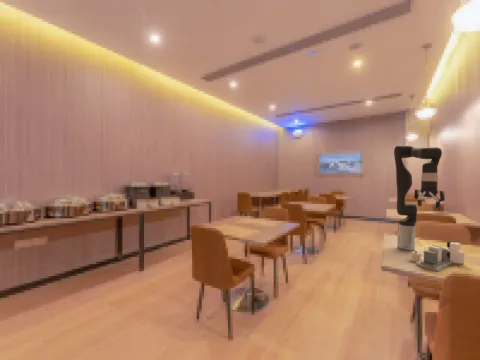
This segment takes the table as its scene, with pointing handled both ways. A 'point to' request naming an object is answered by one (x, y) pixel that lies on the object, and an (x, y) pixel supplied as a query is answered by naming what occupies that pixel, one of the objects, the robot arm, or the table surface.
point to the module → (437, 249)
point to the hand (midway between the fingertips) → (428, 207)
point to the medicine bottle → (454, 252)
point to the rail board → (435, 260)
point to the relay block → (415, 256)
